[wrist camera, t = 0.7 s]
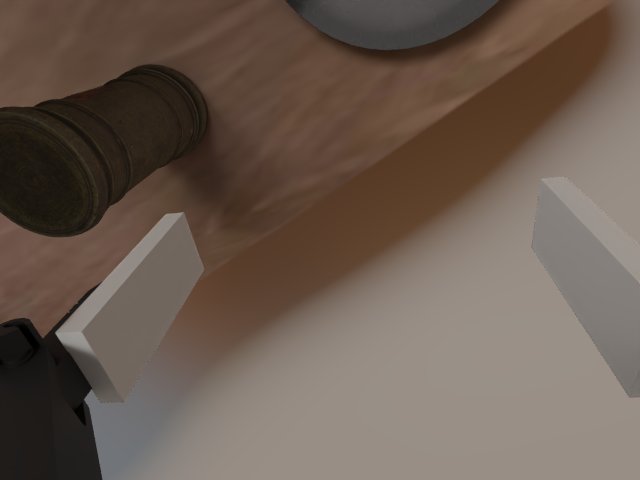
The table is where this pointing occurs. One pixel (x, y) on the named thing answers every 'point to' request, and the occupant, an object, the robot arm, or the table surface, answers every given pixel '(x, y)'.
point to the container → (94, 147)
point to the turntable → (390, 20)
